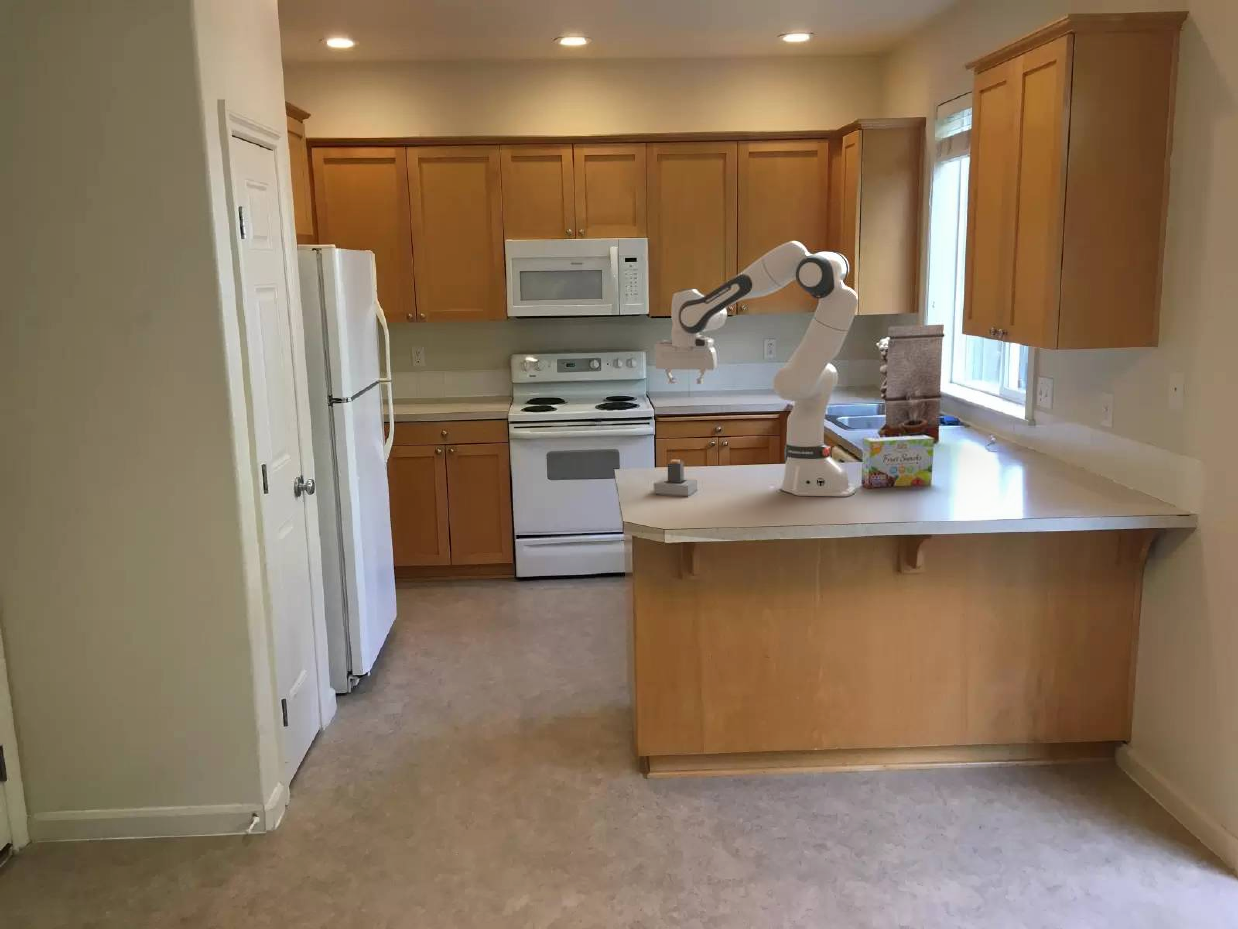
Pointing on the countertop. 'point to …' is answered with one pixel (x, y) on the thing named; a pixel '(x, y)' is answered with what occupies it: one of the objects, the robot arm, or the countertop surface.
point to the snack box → (897, 461)
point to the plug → (676, 472)
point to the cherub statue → (912, 376)
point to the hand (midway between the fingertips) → (685, 383)
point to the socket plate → (675, 487)
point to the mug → (909, 428)
